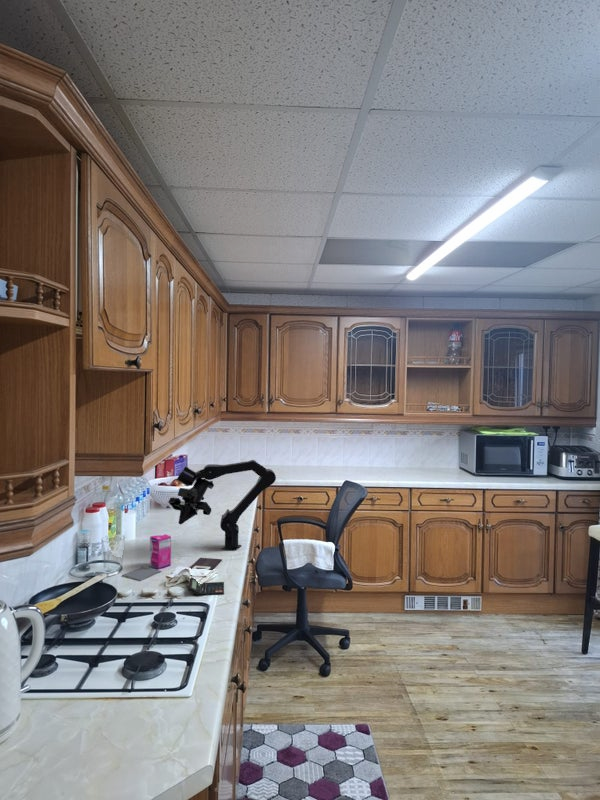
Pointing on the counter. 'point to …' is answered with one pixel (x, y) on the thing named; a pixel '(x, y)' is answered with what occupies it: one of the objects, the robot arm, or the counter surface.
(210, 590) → the calculator
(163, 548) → the supplement box
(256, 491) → the robot arm
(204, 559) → the chocolate bar
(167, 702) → the counter surface
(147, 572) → the mat
